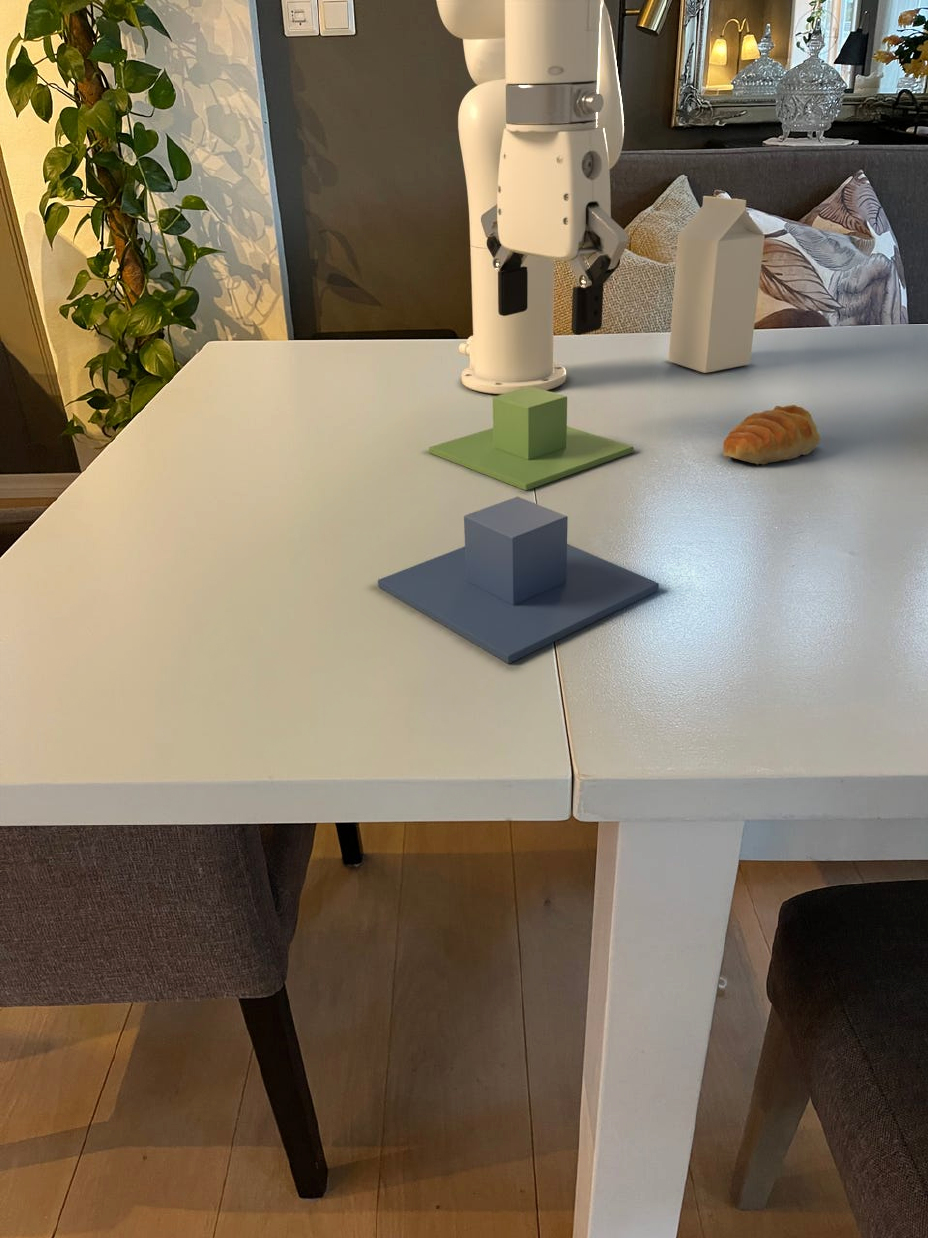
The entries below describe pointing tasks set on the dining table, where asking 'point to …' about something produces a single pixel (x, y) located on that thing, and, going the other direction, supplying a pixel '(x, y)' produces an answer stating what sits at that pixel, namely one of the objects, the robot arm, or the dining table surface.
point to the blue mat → (528, 623)
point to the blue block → (516, 549)
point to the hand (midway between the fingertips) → (548, 321)
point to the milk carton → (716, 287)
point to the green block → (530, 422)
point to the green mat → (534, 472)
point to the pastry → (773, 436)
